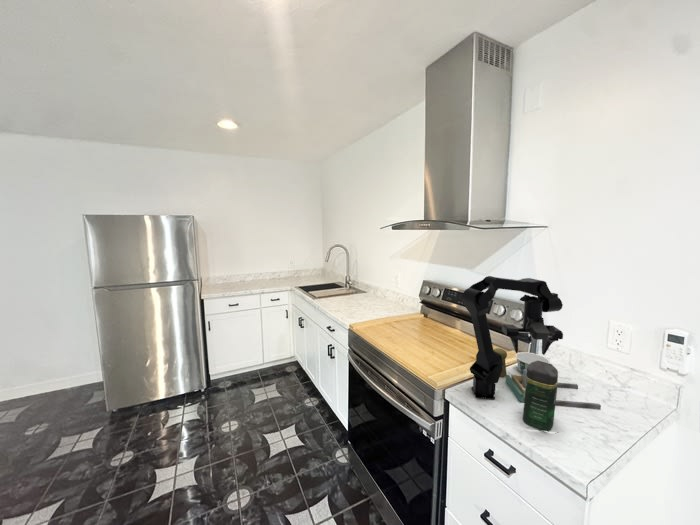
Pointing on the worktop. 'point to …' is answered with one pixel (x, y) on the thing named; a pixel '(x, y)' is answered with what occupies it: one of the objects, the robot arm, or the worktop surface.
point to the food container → (528, 360)
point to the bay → (521, 399)
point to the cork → (504, 355)
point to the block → (524, 378)
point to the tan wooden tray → (519, 382)
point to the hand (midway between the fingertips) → (529, 353)
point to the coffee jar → (540, 395)
